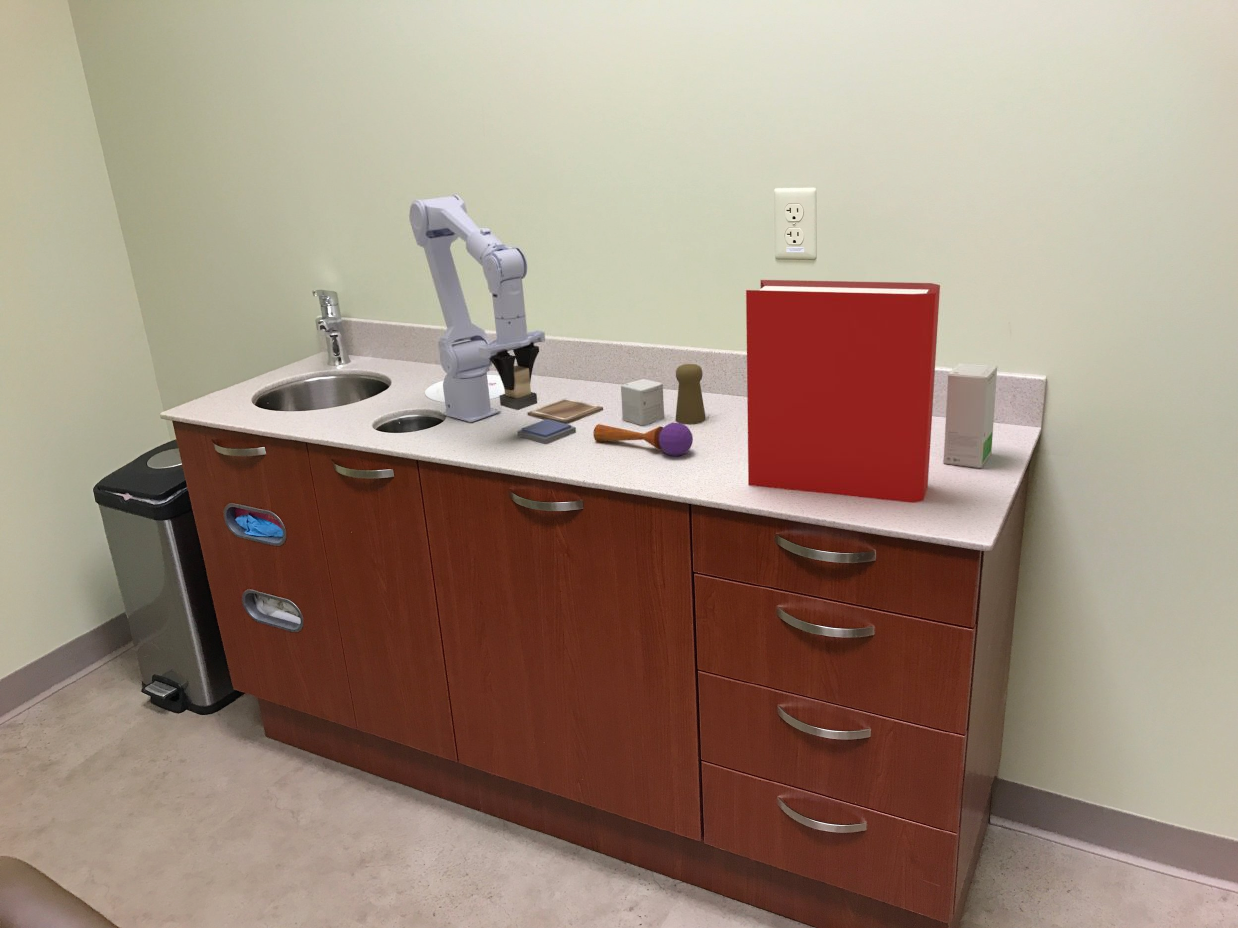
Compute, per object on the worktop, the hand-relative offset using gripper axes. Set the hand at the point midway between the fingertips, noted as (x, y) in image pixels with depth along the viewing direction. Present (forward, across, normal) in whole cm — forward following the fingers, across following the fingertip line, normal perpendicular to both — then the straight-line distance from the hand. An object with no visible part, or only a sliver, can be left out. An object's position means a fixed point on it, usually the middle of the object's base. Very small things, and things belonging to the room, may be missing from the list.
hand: (517, 386), depth 183 cm
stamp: (+3, 0, 0) cm, 4 cm away
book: (+10, +13, -61) cm, 64 cm away
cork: (+10, +26, -21) cm, 35 cm away
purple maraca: (+10, +8, -24) cm, 27 cm away
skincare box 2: (+10, +35, -73) cm, 82 cm away
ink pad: (+10, +4, -3) cm, 11 cm away
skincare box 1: (+10, +21, -13) cm, 26 cm away
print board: (+10, +15, +4) cm, 18 cm away
